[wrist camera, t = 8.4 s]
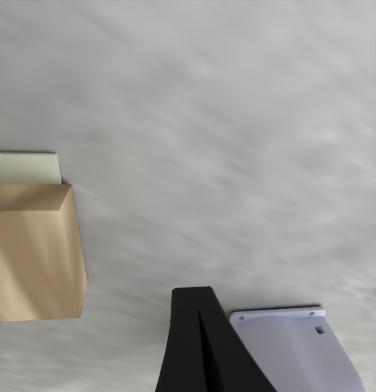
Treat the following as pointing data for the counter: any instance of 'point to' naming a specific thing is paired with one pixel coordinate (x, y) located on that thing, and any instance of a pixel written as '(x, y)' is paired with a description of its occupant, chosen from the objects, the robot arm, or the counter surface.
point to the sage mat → (29, 168)
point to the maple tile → (40, 253)
